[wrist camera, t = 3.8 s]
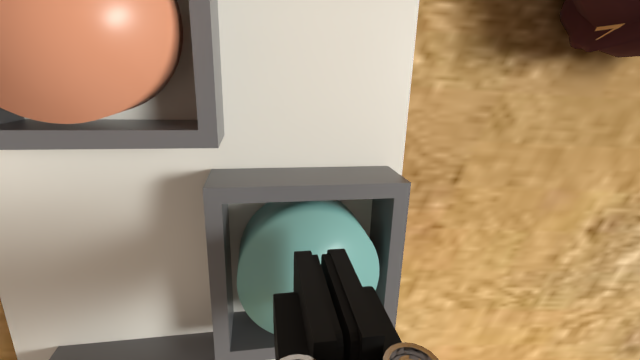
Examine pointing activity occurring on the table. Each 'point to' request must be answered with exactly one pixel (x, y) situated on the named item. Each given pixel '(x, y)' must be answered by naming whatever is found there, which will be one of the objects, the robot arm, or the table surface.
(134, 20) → the button terracotta
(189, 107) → the button panel
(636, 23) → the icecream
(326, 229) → the button teal
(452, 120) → the table surface
